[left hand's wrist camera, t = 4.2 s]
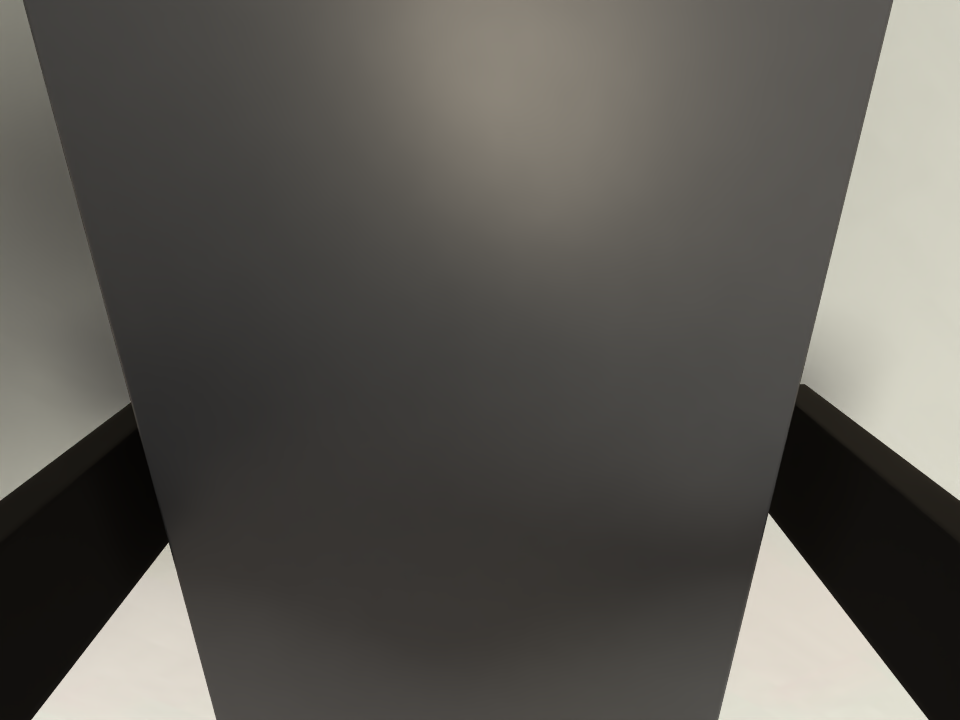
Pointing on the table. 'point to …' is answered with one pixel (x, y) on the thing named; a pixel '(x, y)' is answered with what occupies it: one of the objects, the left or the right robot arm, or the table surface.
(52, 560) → the left robot arm
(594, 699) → the long beam
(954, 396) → the table surface
